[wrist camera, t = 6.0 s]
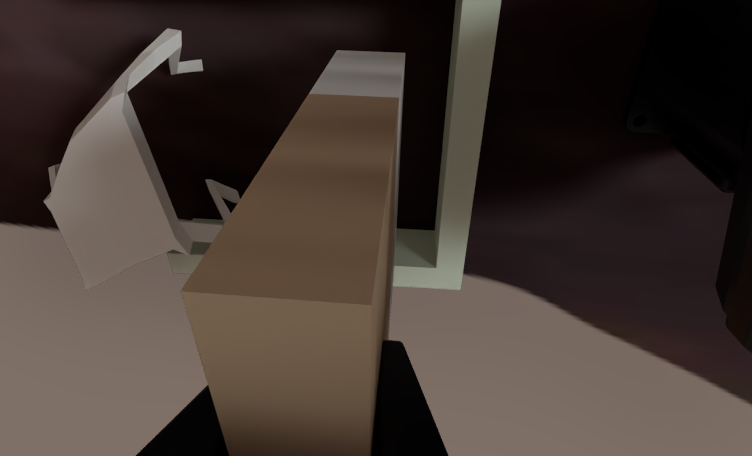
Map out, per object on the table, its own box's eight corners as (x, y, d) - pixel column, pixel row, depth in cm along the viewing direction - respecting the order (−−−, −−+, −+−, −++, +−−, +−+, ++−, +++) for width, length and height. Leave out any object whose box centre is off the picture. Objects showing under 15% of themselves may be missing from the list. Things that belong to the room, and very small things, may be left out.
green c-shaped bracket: (121, -58, 17) (70, -53, 15) (495, -55, 16) (508, -49, 14) (198, 237, 25) (173, 273, 22) (456, 250, 24) (460, 290, 21)
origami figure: (258, 259, 25) (227, 325, 21) (106, 229, 25) (45, 290, 21) (270, 32, 19) (227, 64, 14) (62, -13, 18) (-41, 6, 14)
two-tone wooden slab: (337, 49, 13) (181, 291, 5) (405, 52, 13) (372, 305, 5) (343, 264, 18) (268, 588, 9) (394, 267, 18) (366, 599, 9)
